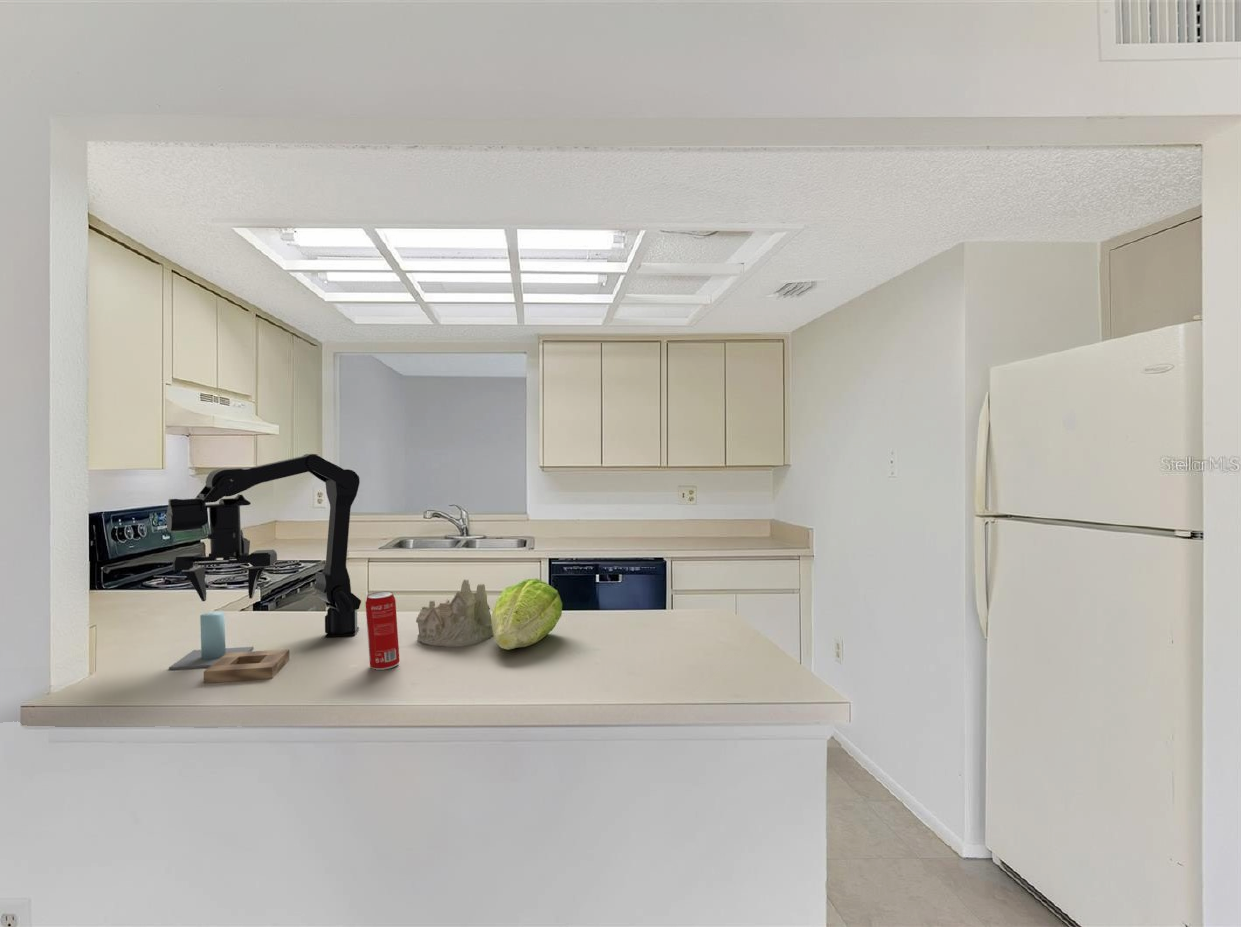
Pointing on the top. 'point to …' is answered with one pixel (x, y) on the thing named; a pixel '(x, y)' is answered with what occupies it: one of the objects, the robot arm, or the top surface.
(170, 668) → the mat
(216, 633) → the peg
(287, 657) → the pocket block
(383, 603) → the beverage can
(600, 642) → the top surface
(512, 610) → the lettuce
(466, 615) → the ceramic cottage
